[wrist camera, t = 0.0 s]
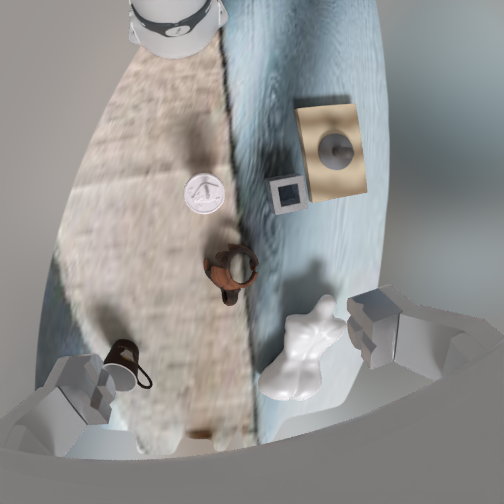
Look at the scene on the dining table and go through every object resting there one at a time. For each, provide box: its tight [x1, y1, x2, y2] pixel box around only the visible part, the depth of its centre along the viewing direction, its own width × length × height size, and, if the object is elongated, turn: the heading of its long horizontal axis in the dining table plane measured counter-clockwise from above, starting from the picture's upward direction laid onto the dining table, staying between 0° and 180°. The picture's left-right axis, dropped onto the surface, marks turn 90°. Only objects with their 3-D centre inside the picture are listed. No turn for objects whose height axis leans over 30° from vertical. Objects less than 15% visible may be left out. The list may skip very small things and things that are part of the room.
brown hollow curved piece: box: [204, 244, 259, 306], centre depth 58 cm, size 12×10×8 cm
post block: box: [294, 104, 367, 203], centre depth 51 cm, size 18×12×8 cm, turn 11°
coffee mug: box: [103, 340, 153, 393], centre depth 59 cm, size 12×9×10 cm
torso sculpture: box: [258, 294, 347, 400], centre depth 65 cm, size 16×11×30 cm
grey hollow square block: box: [264, 173, 308, 215], centre depth 54 cm, size 6×6×5 cm
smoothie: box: [184, 173, 225, 214], centre depth 47 cm, size 6×6×14 cm
